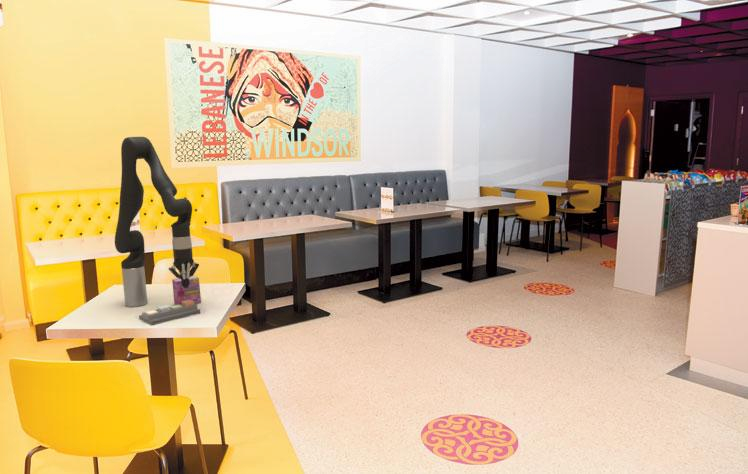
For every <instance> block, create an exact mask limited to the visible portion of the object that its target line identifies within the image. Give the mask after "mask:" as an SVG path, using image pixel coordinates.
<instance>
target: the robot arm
mask: <svg viewBox="0 0 748 474" xmlns="http://www.w3.org/2000/svg"><path fill="white" fill-rule="evenodd" d="M120 147H121V148H120V149H121V151H120V154H121V157H120V158H121V179H120V193H119V209H118V219H117V224H116V227H115V228H116V229H115V233H114V234H115V235H114V247H115V250H116V251H117V252H118V253H120V254H128V253H129V254H128V256H127V257H126V258H124V259H123V260H122V261H121V263H120V265H121V276H122V284H123V285H122V286H123V296H124V306H125V307H128V308H134V307H136V308H137V307H141V306H144V305H147V304H148V292H147V284H146V283H147V282H146V274H145V260H146V259H145V258H146V256H145V255H146V253H145V251H146V250H145V239H144V236H143V234H142V231H139V230H136V229H134V230H131V227H132V224H133V221H134V220H135V218H136V217H137V216H138V214H139V212H140V211H141V209H142V206H143V204H144V194H145V189H144V186H143V184H142V181H141V179H140V177H139V176H138V173H137V162H138V161H137V160H144V161H145V162H146V163H147V165H148V166H149V170H150V180H151V184H152V185H153V187H154V189H155V190H156V192H157V193H158V195H159V196H160V199H161V201H162V203H163V207H164V209H165V212H166V213H167V214H168V215H169V216H170V217H173V218H176V217H177V220H176V221H175V222H173V223H172V224H171V232H172V234H171V235H172V239H171V240H172V255H173V263H172V266H171V267H168V271H169V272H170V273H171V274H173V276H174V277H176V279H177V278H179V279H181V283H182V286H183V287H184V288H187V287H188V286H189V278H190V277H191V276H195V273H196V271H197V270H198V268H199V266H200V264H199V263H197V262H195V261H194V258H193V243H192V238H191V230H190V229H191V228H190V224H191V222H192V221H191V220H192V216H193V215H192V214H193V206H192V203H191V201H190V200H189V199H188V198H177V199H176V198H175V196H176V195H177V193H178V189H177V187H176V186H175V184H174V183H173V181H172V180H171V178H170V177H169V176H168V174H167V172H166V171H165V169H164V167H163V165H162V162H161V160H160V158H159V156H158V154H157V151H156V149H155V147H154V145H153V144H152V142H151V140H150V139H149V138H147V136H146V137H145V136H129V137H125V138H124V139H123V141H122V142H121V146H120ZM176 270H177V271H176Z"/></svg>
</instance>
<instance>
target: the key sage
mask: <svg viewBox="0 0 748 474" xmlns="http://www.w3.org/2000/svg"><path fill="white" fill-rule="evenodd" d="M169 306H170V308H171V309H173V310H174V309H178V308H183V307H182V306H181V305H175V304H174V305H169Z"/></svg>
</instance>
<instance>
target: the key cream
mask: <svg viewBox="0 0 748 474" xmlns="http://www.w3.org/2000/svg"><path fill="white" fill-rule="evenodd" d="M155 310H156V309H152V310H148V311H145V314H147V315H153V314H157V313H158V312H157V311H155Z"/></svg>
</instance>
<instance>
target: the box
mask: <svg viewBox="0 0 748 474" xmlns="http://www.w3.org/2000/svg"><path fill="white" fill-rule="evenodd" d="M171 281H172V291H173V292H172V293H173V294H172V295H173V304H174V305H179V304H181V301H186V300H192V301H194V303H195V304H197V305H198V304H200V303H202V301H201V300H202V299H201V286H200V277H198V276H196V275H193V276H191V277H190V278H189V286H188V287H187V288H184V287H183V286H182V283H181V279H179V278H177V277H176V278H173V279H171Z"/></svg>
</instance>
